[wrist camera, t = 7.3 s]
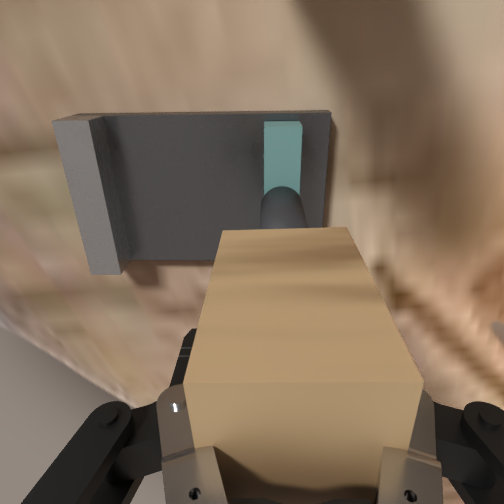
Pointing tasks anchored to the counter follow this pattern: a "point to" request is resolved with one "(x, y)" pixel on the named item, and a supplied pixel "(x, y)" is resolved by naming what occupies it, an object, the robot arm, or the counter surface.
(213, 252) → the vise
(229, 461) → the block
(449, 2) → the counter surface
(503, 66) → the counter surface
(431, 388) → the counter surface
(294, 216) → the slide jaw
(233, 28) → the counter surface
